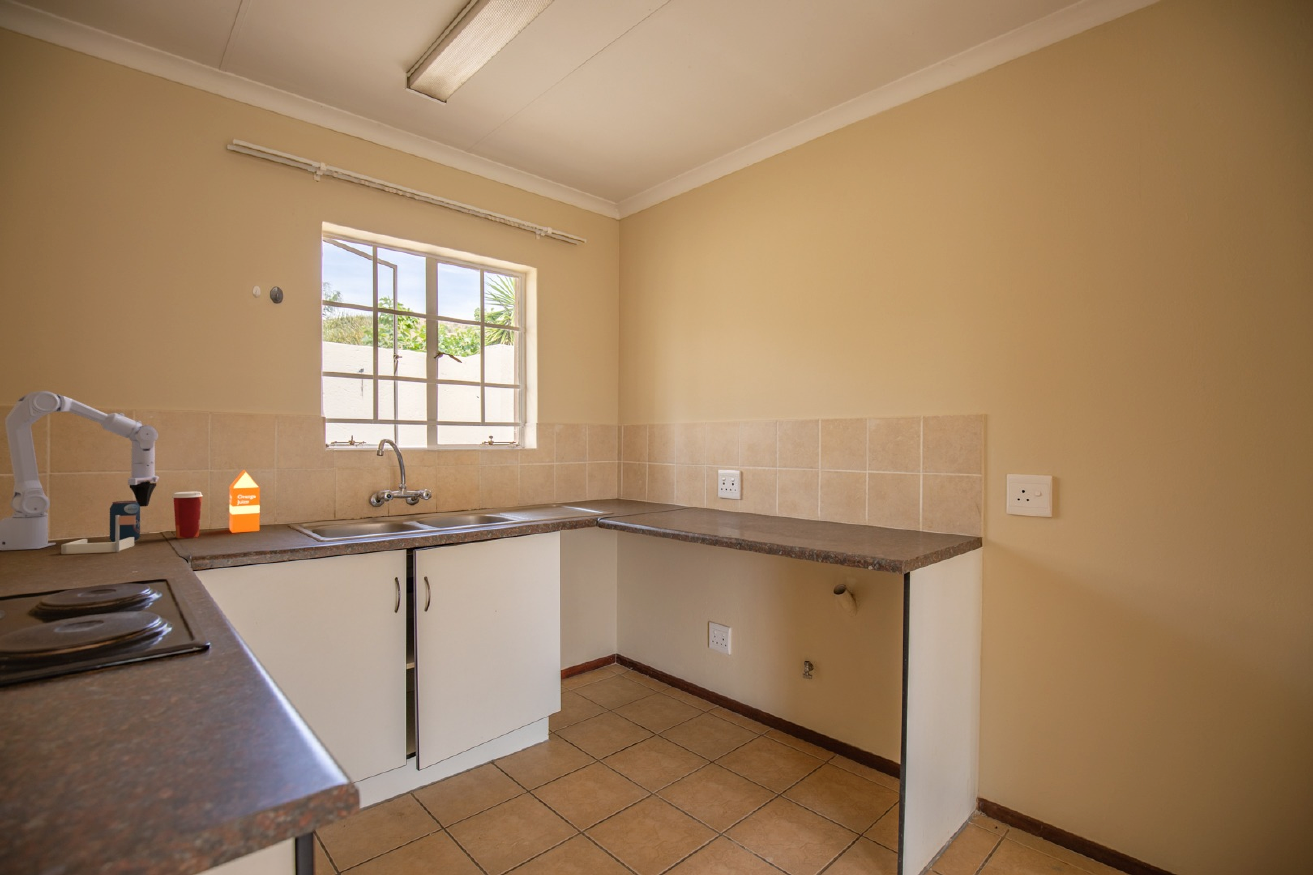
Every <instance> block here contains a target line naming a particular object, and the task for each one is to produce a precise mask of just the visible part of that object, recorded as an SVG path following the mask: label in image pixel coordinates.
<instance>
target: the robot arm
mask: <svg viewBox="0 0 1313 875" xmlns="http://www.w3.org/2000/svg"><path fill="white" fill-rule="evenodd" d="M15 402H16V403H15V405H14V406H13V407H12V409H10V411H9V413H8V414H7V416H6V417H5V419H4V423H5V431H6V437H7V444H8V450H9V456H10V457H9V458H10V461H11V463H10V464H11V468H12V474H13V480H14V485H13V489H12V490H13V495H12V496H13V497H12V498H11V499H10V506H11V508H12V510H13V511H14V512H13V513H12V514H11V516H6V517H3V518H2V519H1V520H0V551H17V550H20V551H21V550H40V549H43V548H46V547H50V546H51V547H52V546H54V545H56V544H57V543H56V542H49V529H48V528H49V512H47V510H48V509H49V508H50V505H51V502H50V498H48V496H47V495H46V494H45V492H44V489H43V485H42V484H41V481H40V477H39V470H38V465H37V464H38V463H37V458H36V453H35V452H36V451H35V450H36V449H35V445H34V438H33V433H32V432H33V431H32V425H33V424H34V423H35V422H37V421H39V419H41V418H42V417H44V416H46V415H49V414H51V413H63V412H64V413H70V414H73V415H76V416H79V417H82V418H84V419H87V420H91V421H92V422H96V423H98V424H100V425H101V427H102V429H103V430H104V431H107V432H110V433H113V434H115V435H117V436H120V437H123V438H125V439H129V440H130V441H131V454H130V455H131V458H130V459H131V461H130V463H131V464H130V465H131V466H130V467H131V469H130V470H131V472H130V473H131V476H130V478H127V485H128V486H129V488H130V490H131V491H132V492H133V494H134V497H135V501H138V502H137V503H138V504H139V506H140V508H141V507H148V506H149V504H150V501H151V497H152V494H153V491H155V490H154V489H156V487H157V482H158V480H160V476H158V475H156V474H155V473H156V472H155V471H156V463H155V462H156V455H155V454H156V448H155V443H156V441H157V439H158V438H159V433H158V432H157V430H156V428H155V427H153V426H151V425H149V424H148V425H147V424H145V425H144V424H142V421H141V420H134V419H131V418H129V417H126V416H125V415H126V414H125V413H122V412H118V413H116V412H111V413H108V414H107V413H105V412H103V411H100V410H98V409H96V408H94V407H91V406H89V405H87V404H85V403H82V402H80V401H78V400H75V399H73V398H71V397H67V396H64V395H61V394H56V393H54V392H52V391H48V390H39V391H32V392H31V391H30V392H29V393H26V394H25V395H23V396H22V397H20V398H18V399H17V400H16V401H15Z"/></svg>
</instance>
